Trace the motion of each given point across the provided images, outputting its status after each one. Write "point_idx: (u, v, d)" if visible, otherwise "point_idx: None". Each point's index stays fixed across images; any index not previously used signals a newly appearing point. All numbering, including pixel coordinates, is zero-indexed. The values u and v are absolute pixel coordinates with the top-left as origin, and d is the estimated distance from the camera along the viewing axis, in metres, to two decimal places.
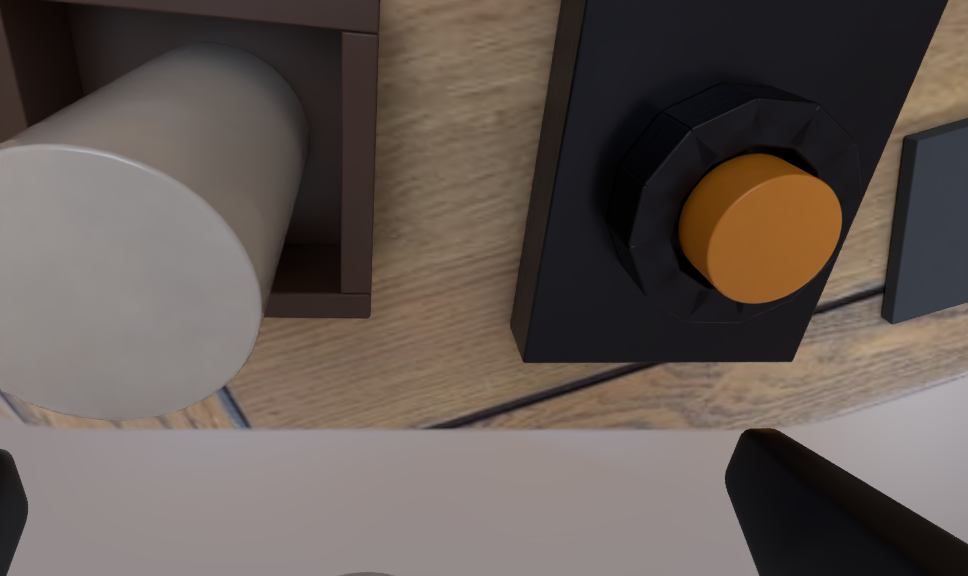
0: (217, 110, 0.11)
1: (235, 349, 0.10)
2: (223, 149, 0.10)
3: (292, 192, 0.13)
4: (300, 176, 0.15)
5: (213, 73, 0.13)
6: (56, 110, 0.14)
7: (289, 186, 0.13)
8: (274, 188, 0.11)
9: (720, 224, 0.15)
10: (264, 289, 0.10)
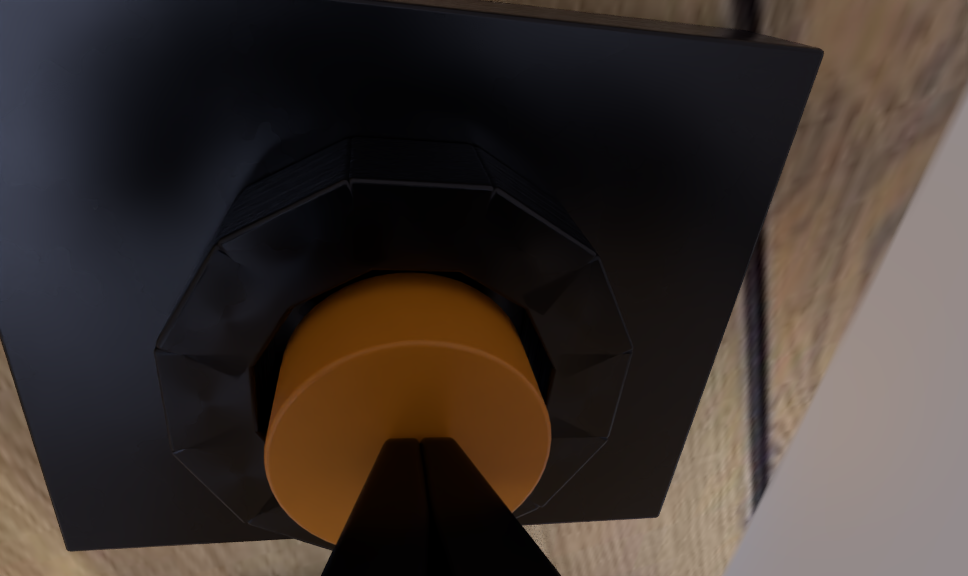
0: None
1: None
2: None
3: None
4: None
5: None
6: None
7: None
8: None
9: None
10: None
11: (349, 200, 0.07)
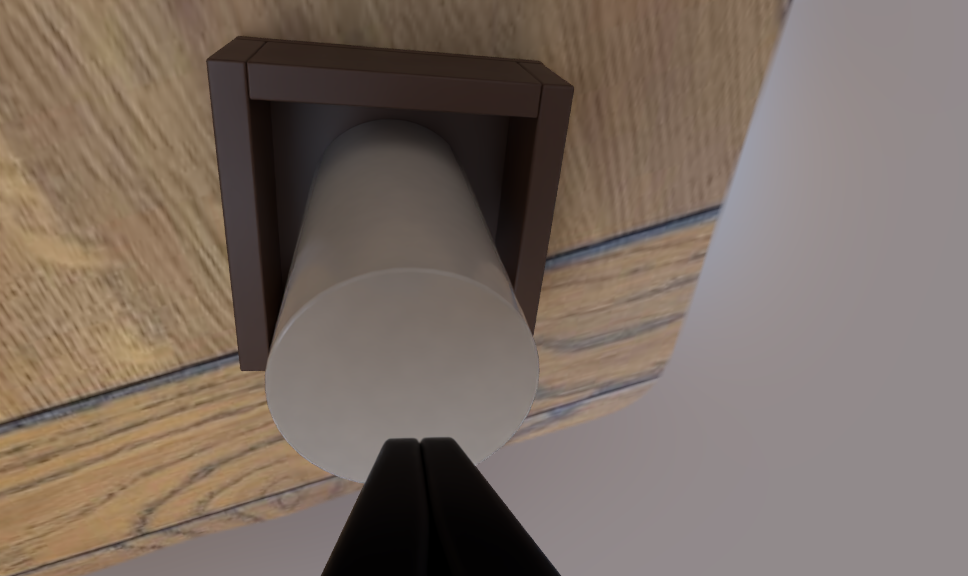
0: (301, 237, 0.12)
1: (467, 294, 0.10)
2: (308, 253, 0.11)
3: (396, 171, 0.13)
4: (405, 147, 0.15)
5: (302, 217, 0.14)
6: None
7: (384, 176, 0.13)
8: (363, 204, 0.12)
9: None
10: (409, 258, 0.10)
11: None
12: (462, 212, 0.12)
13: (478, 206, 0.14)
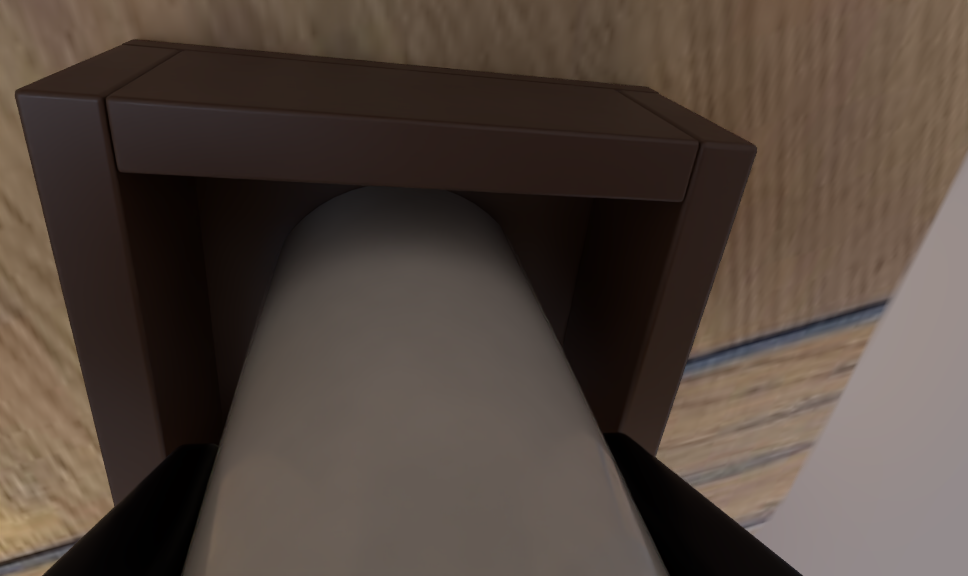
0: (211, 497, 0.06)
1: None
2: None
3: (422, 330, 0.06)
4: (433, 253, 0.08)
5: None
6: None
7: (398, 350, 0.06)
8: (348, 459, 0.05)
9: None
10: None
11: None
12: (575, 450, 0.05)
13: (572, 372, 0.08)
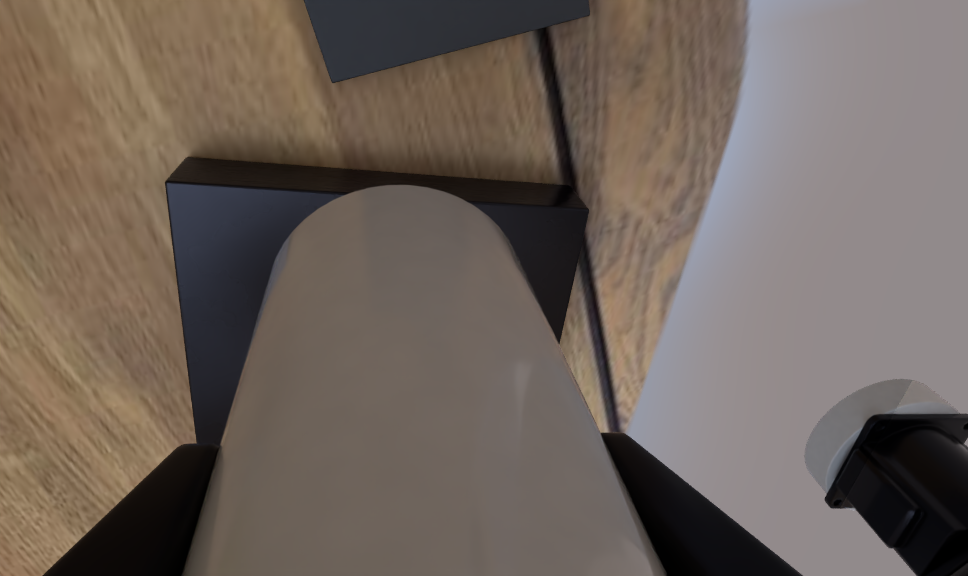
0: (210, 501, 0.06)
1: None
2: None
3: (421, 333, 0.06)
4: (432, 255, 0.08)
5: None
6: None
7: (397, 353, 0.06)
8: (348, 462, 0.05)
9: None
10: None
11: None
12: (574, 453, 0.05)
13: (572, 374, 0.08)
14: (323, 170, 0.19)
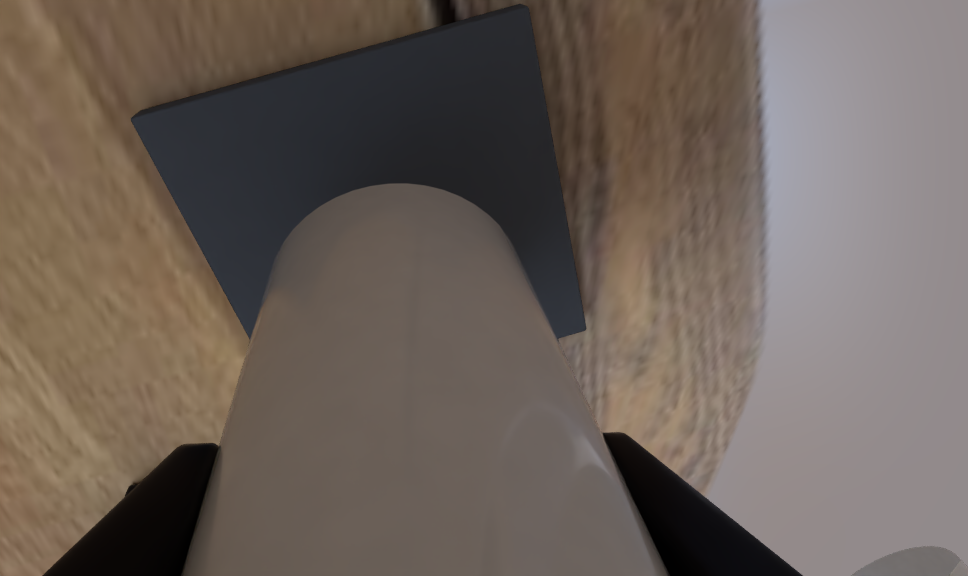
0: (209, 500, 0.06)
1: None
2: None
3: (422, 331, 0.06)
4: (433, 254, 0.08)
5: (236, 389, 0.08)
6: None
7: (398, 351, 0.06)
8: (348, 461, 0.05)
9: None
10: None
11: None
12: (575, 451, 0.05)
13: (573, 373, 0.08)
14: None
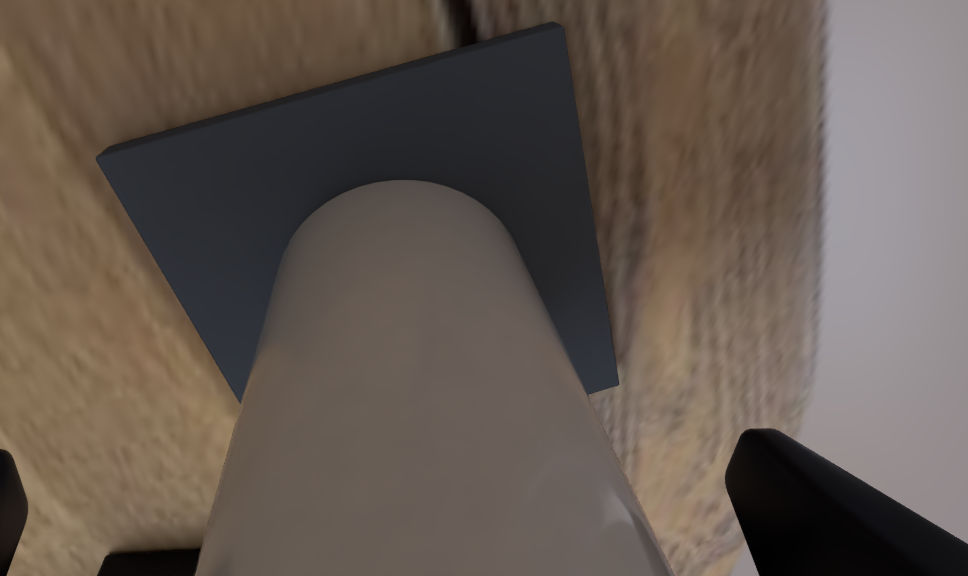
0: (229, 473, 0.06)
1: None
2: None
3: (427, 318, 0.07)
4: (436, 246, 0.08)
5: (249, 375, 0.08)
6: None
7: (405, 335, 0.06)
8: (360, 433, 0.05)
9: None
10: None
11: None
12: (571, 428, 0.06)
13: (570, 360, 0.08)
14: None
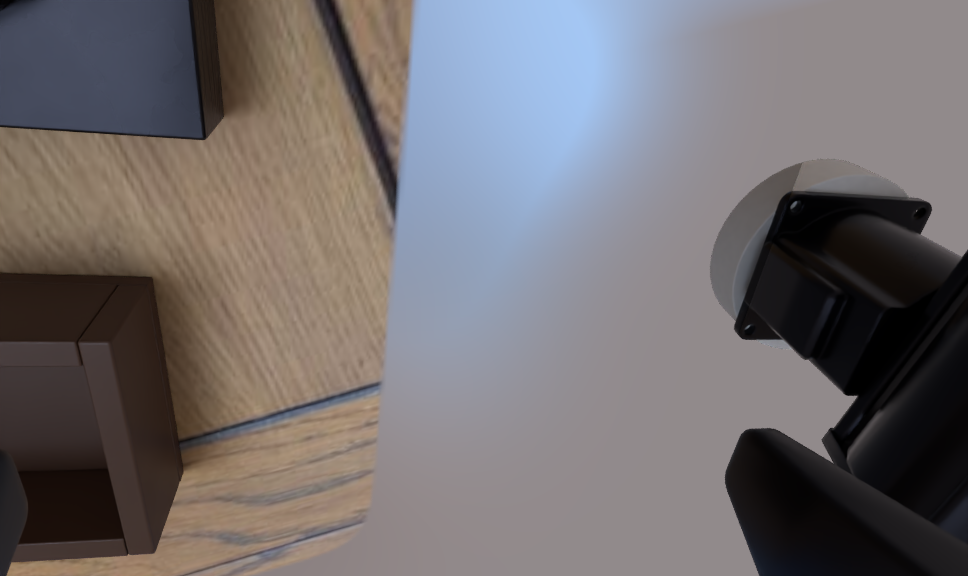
0: None
1: None
2: None
3: None
4: None
5: None
6: None
7: None
8: None
9: None
10: None
11: None
12: None
13: None
14: None
